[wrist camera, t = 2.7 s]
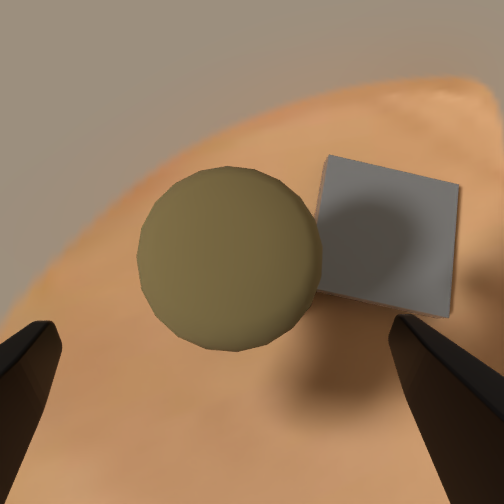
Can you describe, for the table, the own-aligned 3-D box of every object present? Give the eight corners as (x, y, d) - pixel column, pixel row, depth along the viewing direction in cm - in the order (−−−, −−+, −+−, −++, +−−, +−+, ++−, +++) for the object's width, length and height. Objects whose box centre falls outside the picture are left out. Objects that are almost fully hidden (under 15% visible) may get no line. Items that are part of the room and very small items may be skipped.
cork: (293, 253, 19) (374, 164, 9) (268, 359, 18) (330, 407, 7) (191, 226, 19) (149, 103, 9) (159, 331, 18) (61, 338, 7)
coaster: (437, 318, 19) (449, 318, 18) (301, 288, 19) (306, 286, 18) (448, 191, 21) (458, 184, 20) (324, 162, 21) (329, 154, 20)
